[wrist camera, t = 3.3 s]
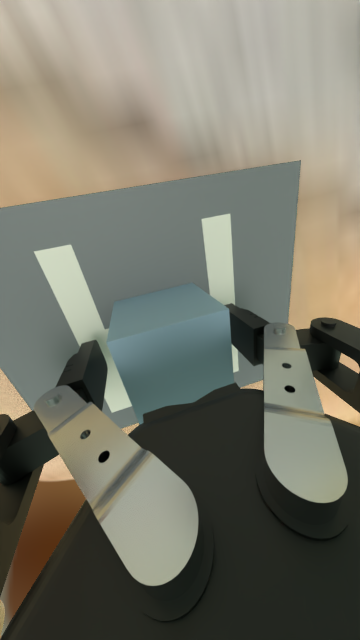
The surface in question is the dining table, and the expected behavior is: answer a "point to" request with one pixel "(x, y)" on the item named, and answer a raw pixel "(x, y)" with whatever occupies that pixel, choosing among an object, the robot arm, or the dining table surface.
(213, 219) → the letter board
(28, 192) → the dining table surface
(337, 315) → the dining table surface
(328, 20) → the dining table surface
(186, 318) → the blue block
